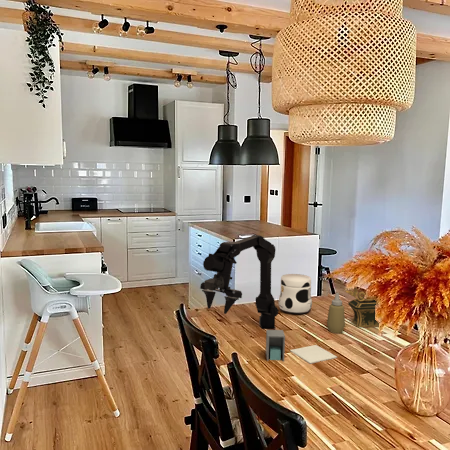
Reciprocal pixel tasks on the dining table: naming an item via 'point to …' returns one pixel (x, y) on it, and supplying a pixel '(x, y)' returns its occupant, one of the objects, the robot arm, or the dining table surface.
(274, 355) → the teal cube
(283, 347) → the charcoal hood
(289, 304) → the cream spotted cookie jar
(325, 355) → the cream square tile
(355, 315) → the decorative box
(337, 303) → the squeeze bottle
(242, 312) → the dining table surface
